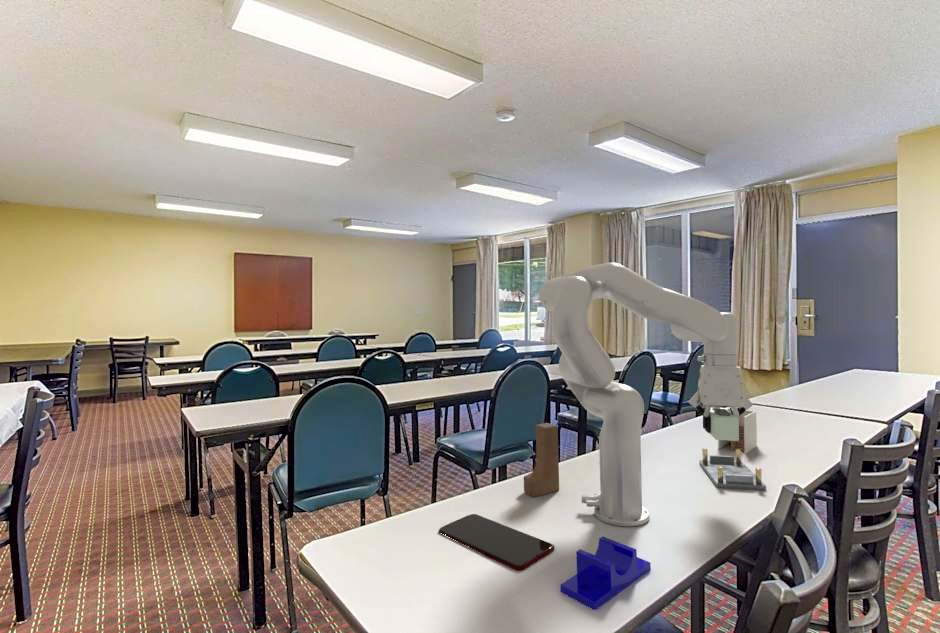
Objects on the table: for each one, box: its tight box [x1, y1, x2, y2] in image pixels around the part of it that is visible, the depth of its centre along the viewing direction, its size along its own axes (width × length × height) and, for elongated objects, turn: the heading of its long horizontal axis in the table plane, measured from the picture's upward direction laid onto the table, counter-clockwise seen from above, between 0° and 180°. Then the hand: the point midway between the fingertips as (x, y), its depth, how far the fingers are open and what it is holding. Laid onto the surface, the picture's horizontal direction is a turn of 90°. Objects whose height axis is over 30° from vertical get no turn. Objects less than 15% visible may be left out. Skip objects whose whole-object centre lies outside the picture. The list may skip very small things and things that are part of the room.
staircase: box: [717, 407, 758, 454], centre depth 166 cm, size 9×11×17 cm
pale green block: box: [709, 406, 739, 441], centre depth 122 cm, size 5×13×6 cm, turn 167°
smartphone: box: [438, 513, 555, 572], centre depth 105 cm, size 12×2×25 cm
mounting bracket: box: [559, 536, 652, 611], centre depth 88 cm, size 18×7×6 cm, turn 131°
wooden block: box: [523, 422, 560, 498], centre depth 131 cm, size 9×4×18 cm, turn 119°
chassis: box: [698, 447, 767, 491], centre depth 139 cm, size 12×20×5 cm, turn 167°
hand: (719, 431), depth 122 cm, fingers closed on pale green block, 5 cm apart
